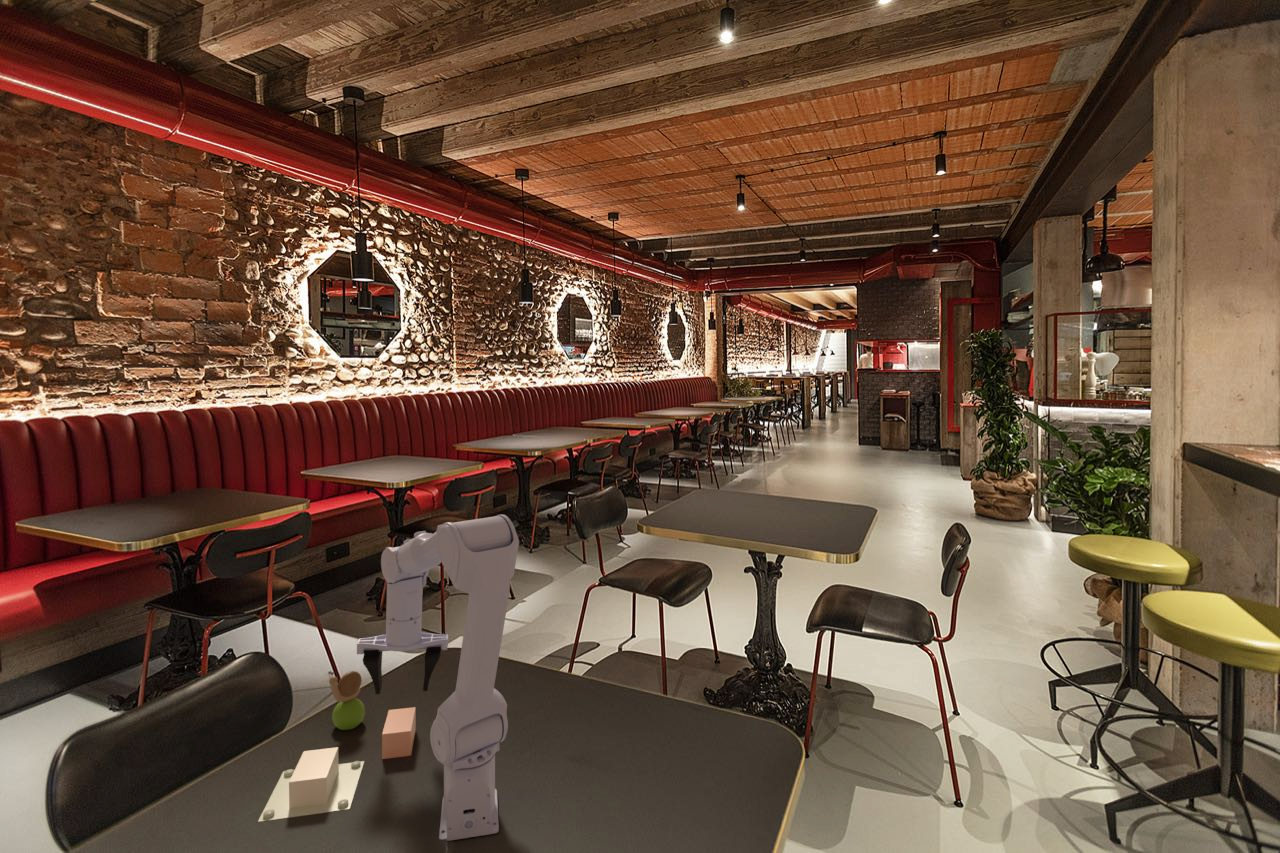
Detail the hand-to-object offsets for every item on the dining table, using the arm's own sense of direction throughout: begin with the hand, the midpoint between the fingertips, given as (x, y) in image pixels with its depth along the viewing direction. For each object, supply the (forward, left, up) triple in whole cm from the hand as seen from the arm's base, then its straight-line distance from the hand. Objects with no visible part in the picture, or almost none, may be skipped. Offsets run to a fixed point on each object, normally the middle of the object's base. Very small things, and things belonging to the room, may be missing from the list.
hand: (402, 689), depth 108 cm
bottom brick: (-10, +11, -9) cm, 18 cm away
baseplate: (-10, +11, -10) cm, 18 cm away
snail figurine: (+8, +10, -10) cm, 17 cm away
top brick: (0, 0, -10) cm, 10 cm away
